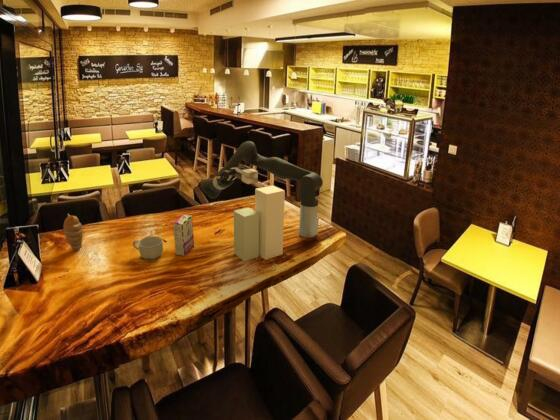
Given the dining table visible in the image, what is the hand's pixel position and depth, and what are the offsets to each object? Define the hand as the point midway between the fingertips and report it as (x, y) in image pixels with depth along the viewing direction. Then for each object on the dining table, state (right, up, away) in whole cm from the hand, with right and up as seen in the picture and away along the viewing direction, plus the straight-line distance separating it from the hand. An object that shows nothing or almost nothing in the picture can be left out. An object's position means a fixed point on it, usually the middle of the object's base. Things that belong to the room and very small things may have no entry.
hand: (238, 170), depth 173 cm
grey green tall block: (+3, -39, +9) cm, 40 cm away
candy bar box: (-27, -38, +12) cm, 48 cm away
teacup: (-42, -39, +6) cm, 58 cm away
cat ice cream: (-77, -37, +9) cm, 86 cm away
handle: (+2, -4, -2) cm, 5 cm away
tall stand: (+13, -39, +12) cm, 42 cm away
